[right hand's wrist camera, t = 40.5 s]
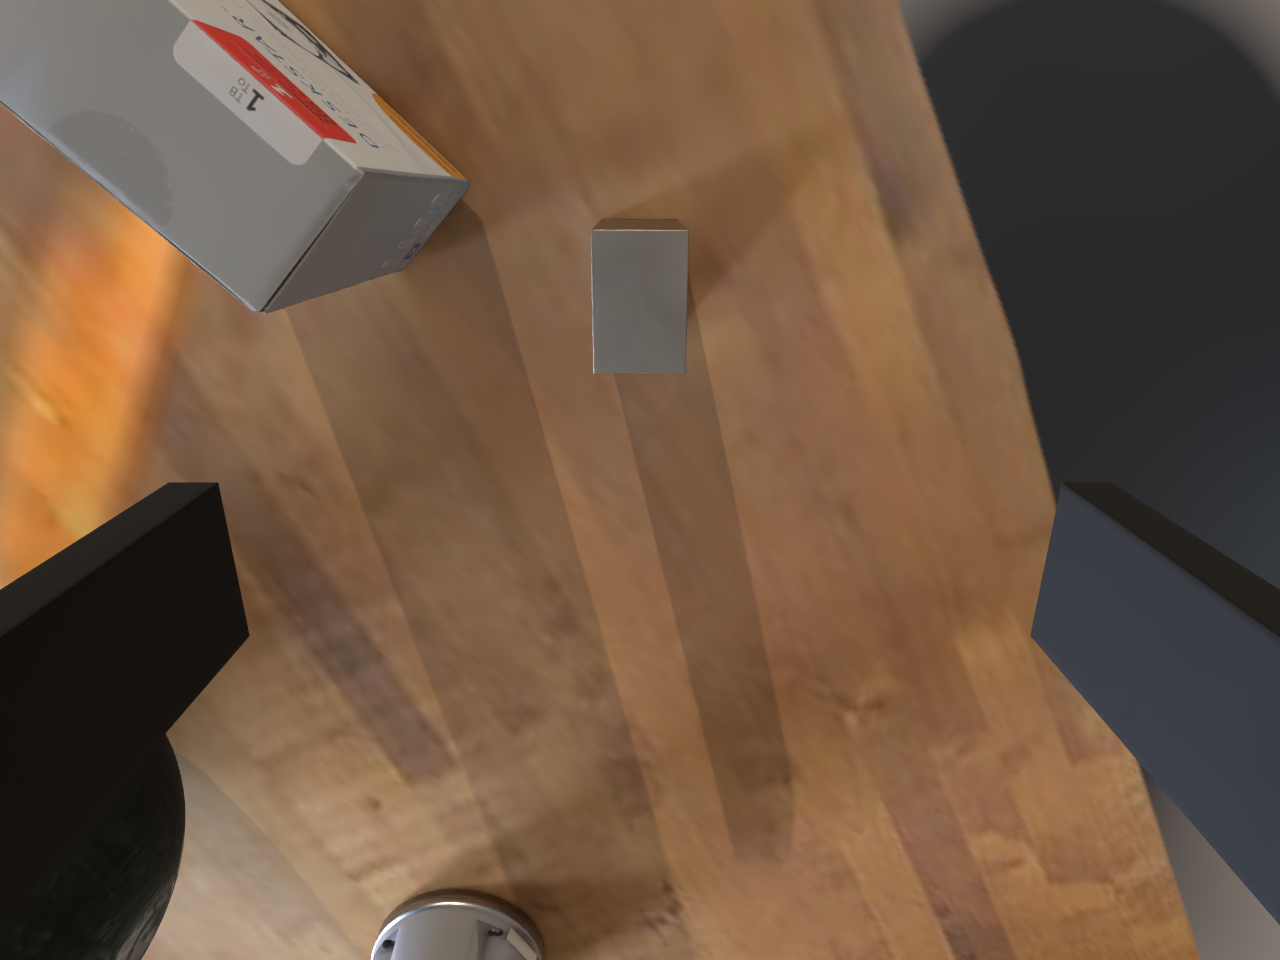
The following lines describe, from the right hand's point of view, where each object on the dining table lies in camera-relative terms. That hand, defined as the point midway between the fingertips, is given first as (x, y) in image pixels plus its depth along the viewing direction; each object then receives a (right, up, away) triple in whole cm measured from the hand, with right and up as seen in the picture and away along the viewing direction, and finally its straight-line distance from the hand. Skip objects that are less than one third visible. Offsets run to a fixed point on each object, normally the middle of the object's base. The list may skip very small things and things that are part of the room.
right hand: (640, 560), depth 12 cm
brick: (0, +14, +38) cm, 41 cm away
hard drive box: (-18, +22, +35) cm, 45 cm away
